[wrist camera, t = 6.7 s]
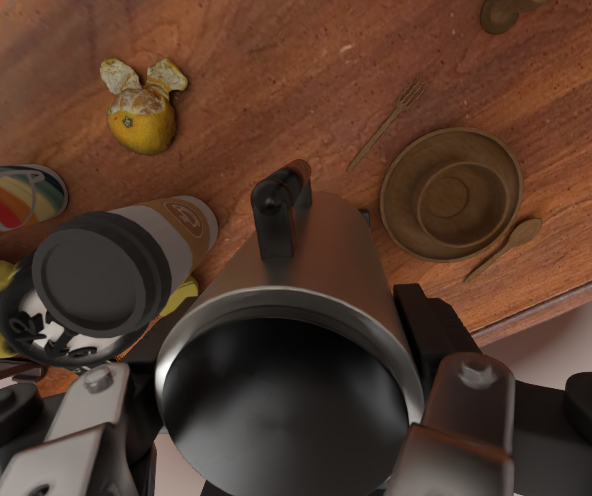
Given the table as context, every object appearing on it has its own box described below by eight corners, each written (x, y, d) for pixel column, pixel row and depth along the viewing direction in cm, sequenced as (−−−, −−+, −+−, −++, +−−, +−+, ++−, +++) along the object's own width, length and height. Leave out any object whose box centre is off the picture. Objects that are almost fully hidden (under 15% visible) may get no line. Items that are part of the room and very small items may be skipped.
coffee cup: (246, 229, 34) (182, 295, 19) (193, 277, 36) (102, 368, 22) (186, 166, 32) (71, 188, 18) (135, 221, 35) (-2, 278, 21)
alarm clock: (170, 323, 42) (51, 425, 31) (96, 228, 40) (-63, 303, 29) (221, 304, 35) (87, 429, 24) (134, 185, 32) (-63, 263, 21)
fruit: (188, 59, 29) (168, 48, 26) (194, 156, 32) (177, 159, 28) (100, 58, 30) (69, 48, 27) (113, 154, 33) (87, 156, 29)
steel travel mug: (244, 161, 17) (77, 214, 6) (367, 146, 16) (433, 177, 5) (268, 301, 19) (179, 518, 8) (374, 295, 18) (430, 530, 7)
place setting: (326, 185, 31) (325, 195, 26) (495, -22, 25) (540, -68, 20) (461, 295, 33) (487, 326, 28) (648, 128, 27) (729, 125, 22)
